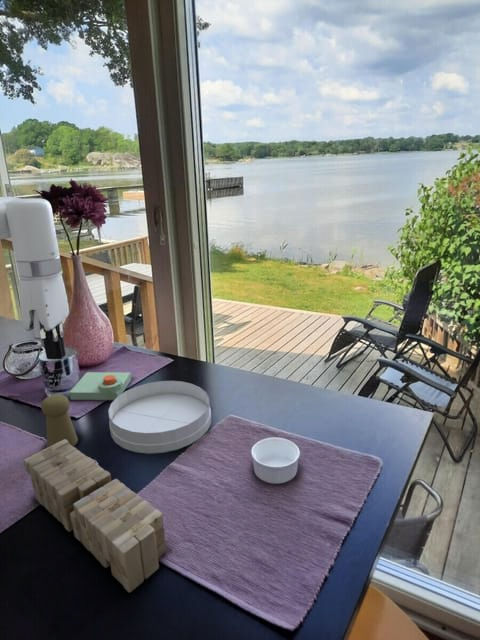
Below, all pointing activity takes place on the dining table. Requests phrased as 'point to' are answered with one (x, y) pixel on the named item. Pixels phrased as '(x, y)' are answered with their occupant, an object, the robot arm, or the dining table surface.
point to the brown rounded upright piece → (58, 420)
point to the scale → (100, 386)
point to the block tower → (99, 512)
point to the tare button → (109, 380)
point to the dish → (159, 416)
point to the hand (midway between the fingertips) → (56, 357)
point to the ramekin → (275, 460)
